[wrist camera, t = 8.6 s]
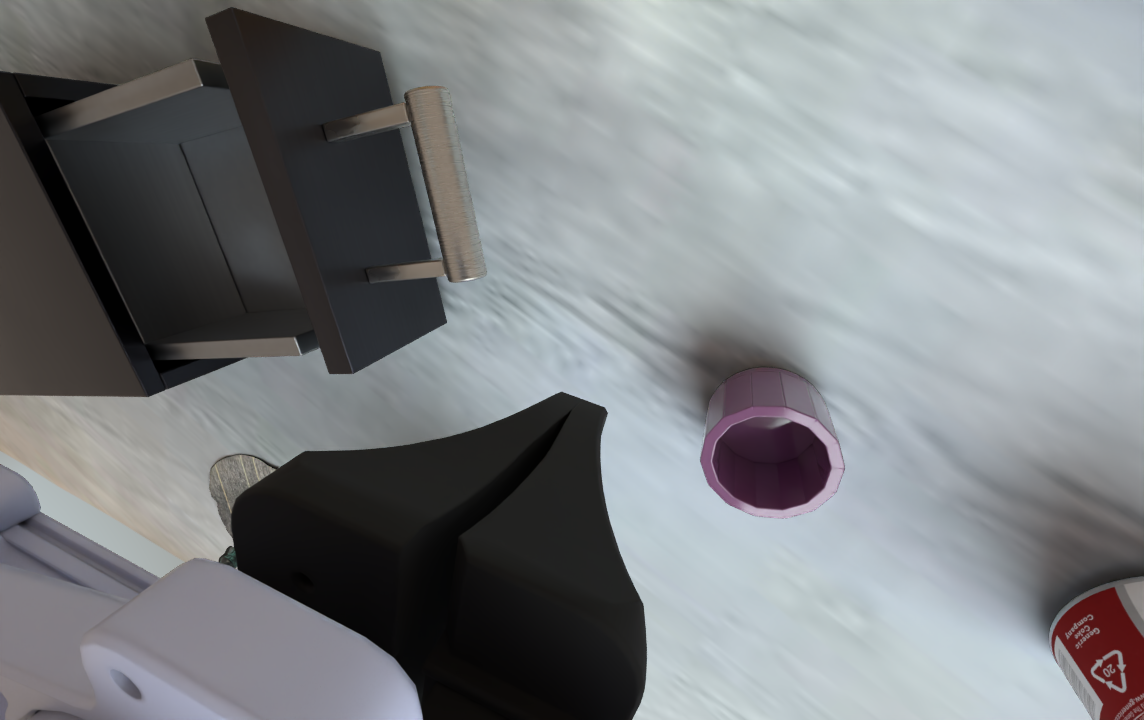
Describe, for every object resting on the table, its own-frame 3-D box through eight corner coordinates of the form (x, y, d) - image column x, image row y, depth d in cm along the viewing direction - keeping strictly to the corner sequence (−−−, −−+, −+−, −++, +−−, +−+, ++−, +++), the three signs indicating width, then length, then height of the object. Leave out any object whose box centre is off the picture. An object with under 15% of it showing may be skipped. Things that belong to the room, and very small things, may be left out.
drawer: (487, 17, 17) (366, -51, 12) (540, 317, 21) (468, 373, 15) (179, 114, 23) (4, 99, 18) (264, 333, 27) (143, 376, 22)
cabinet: (213, 96, 23) (-19, 67, 16) (300, 337, 28) (147, 397, 20) (60, 145, 28) (-171, 140, 21) (155, 344, 32) (-10, 395, 25)
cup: (826, 468, 20) (841, 524, 17) (708, 462, 22) (703, 512, 19) (830, 365, 19) (848, 406, 16) (703, 367, 20) (696, 404, 17)
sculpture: (281, 591, 40) (164, 603, 34) (294, 483, 44) (190, 476, 38) (360, 575, 34) (235, 586, 28) (367, 451, 38) (257, 438, 32)
